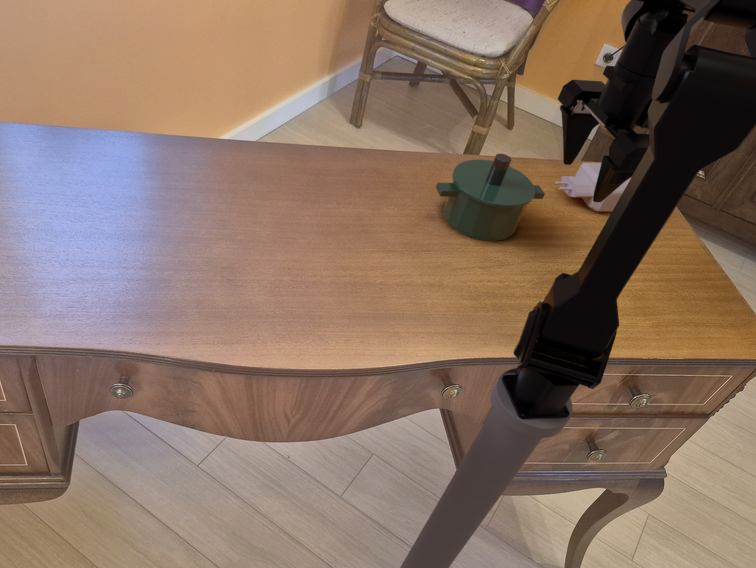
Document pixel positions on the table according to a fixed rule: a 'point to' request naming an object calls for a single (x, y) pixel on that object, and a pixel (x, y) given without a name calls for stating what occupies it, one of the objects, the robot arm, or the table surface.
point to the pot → (480, 214)
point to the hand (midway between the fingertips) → (581, 182)
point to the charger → (590, 187)
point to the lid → (494, 182)
